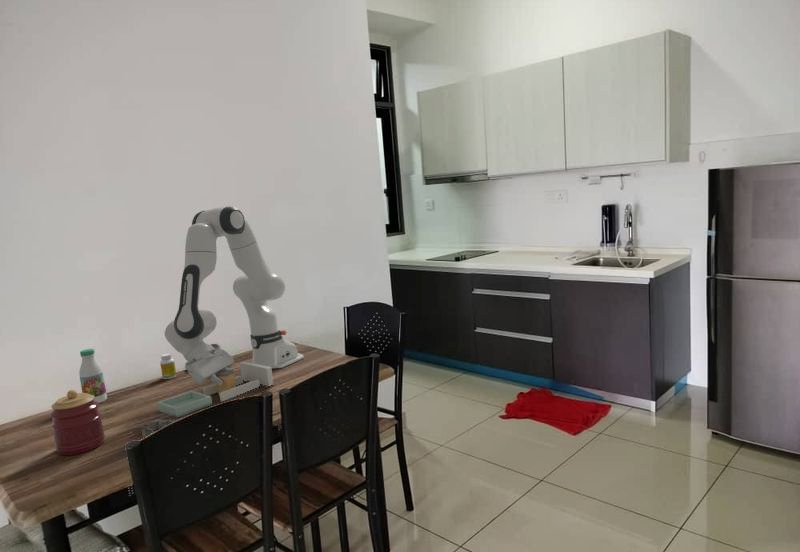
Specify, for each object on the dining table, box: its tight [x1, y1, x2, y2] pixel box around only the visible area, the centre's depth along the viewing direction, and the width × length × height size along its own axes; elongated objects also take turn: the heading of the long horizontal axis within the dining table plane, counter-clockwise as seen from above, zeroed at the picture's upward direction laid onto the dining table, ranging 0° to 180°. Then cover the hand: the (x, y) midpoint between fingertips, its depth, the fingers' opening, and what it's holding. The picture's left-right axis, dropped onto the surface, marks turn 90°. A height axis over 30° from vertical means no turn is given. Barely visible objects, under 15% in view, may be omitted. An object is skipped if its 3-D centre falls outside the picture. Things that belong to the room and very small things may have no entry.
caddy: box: [216, 369, 237, 397], centre depth 207 cm, size 4×4×8 cm
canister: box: [49, 389, 106, 456], centre depth 169 cm, size 13×13×18 cm
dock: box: [202, 361, 275, 402], centre depth 210 cm, size 20×18×7 cm
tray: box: [157, 390, 213, 418], centre depth 196 cm, size 13×13×3 cm
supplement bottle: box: [159, 353, 177, 380], centre depth 236 cm, size 5×5×10 cm
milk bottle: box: [78, 348, 108, 404], centre depth 211 cm, size 8×8×20 cm
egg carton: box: [138, 418, 177, 438], centre depth 174 cm, size 11×8×4 cm
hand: (227, 381), depth 206 cm, fingers closed on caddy, 4 cm apart
